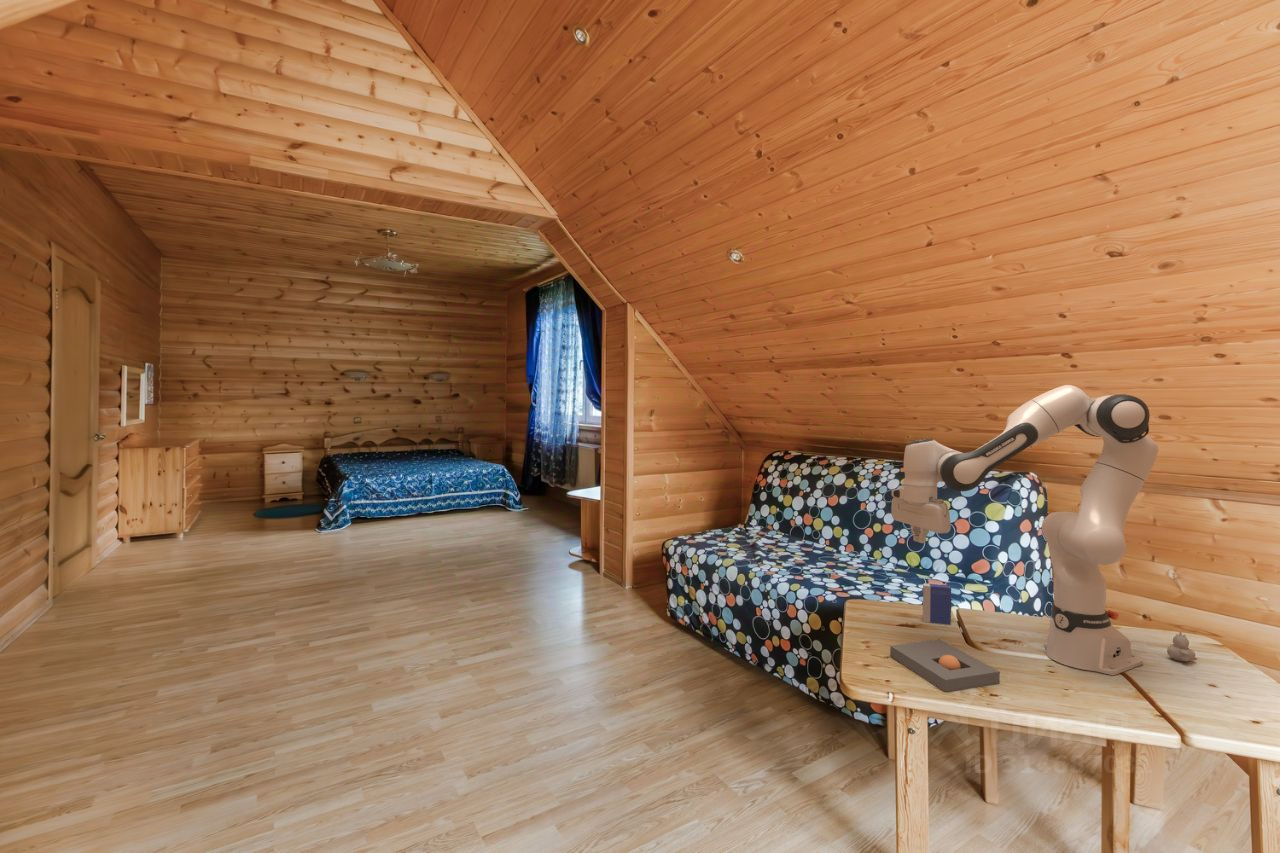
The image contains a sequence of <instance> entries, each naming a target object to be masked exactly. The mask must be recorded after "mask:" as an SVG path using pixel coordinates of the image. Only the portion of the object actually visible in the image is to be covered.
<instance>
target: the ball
mask: <svg viewBox="0 0 1280 853" xmlns="http://www.w3.org/2000/svg"><path fill="white" fill-rule="evenodd" d="M938 664H940V665H942V666H943V667H945V668H947V669H948V670H956V669H960V668H961V666H960V663H959V661H958V660H957V659H956V658H955V657H954V656H951V655H944V656H942V657H941V658H940V659H939V662H938Z"/></svg>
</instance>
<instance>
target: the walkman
mask: <svg viewBox="0 0 1280 853" xmlns="http://www.w3.org/2000/svg"><path fill="white" fill-rule="evenodd" d="M921 589H922V590H921V591H922V592H921V593H922V594H921V595H922V621H923V623H929V624H939V625H949V626H950V625H952V623H951V622H952V587H951V585H948V583H947V584H945V583H942V584H935V583H923V585H922V588H921Z"/></svg>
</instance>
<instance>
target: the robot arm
mask: <svg viewBox="0 0 1280 853" xmlns="http://www.w3.org/2000/svg"><path fill="white" fill-rule="evenodd" d="M1149 423H1150V409H1149V407H1148V405H1147V404H1146V402H1144V400H1142V399H1140V398H1139V397H1137V396H1133V395H1130V394H1126V393H1122V394H1121V393H1120V394H1119V393H1118V394H1108V395H1102V396H1098V397H1093V398H1092V397H1089V396H1088V395H1087V393H1086V392H1085V391H1084V390H1082V389H1081V388H1079V387H1077V386H1075V385H1071V384H1063V385H1061V386H1058V387H1055V388H1053V389H1050V390H1047V391H1046V392H1043V393H1042V394H1040V395H1037V396H1035V397H1033V398H1032V399H1030V400H1028V401H1026V402H1024V403H1023V404H1022V405H1020V406H1019V407H1017V408H1016V409H1015V410H1014V411H1012V412H1011V413H1010V414H1009V415H1008V417H1007V419H1006V426H1005V429H1004V430H1003V432H1001V433H1000V434H999V435H997V436H996V437H995V438H992V440H990V441H988V442H986V443H984V444H983V445H982V446H980V447H978V448H977V449H975V450H973V451H968V452H962V451H959V450H956V449H952V448H950V447H948V446H945V445H943V444H941V443H940V442H938V441H936V440H935V438H920V439H915V440H912V441H909V442H908V443H907V444H906V446H905V448H904V455H903V472H904V480H903V487H898V488H896V489H892V490H891V497H893V498H892V500H891V517H892V519H893V521H896V522H899V523H903V524H907V525H908V526H909V525H910V530H911V533H912V535H913V542H918V543H920V544H925V543H926V540H927V536H928V534H929V533H930V532H933V533H937V534H948V533H949V532H950V531H951V529H952V527H951V515H950V510H949V505H948V504H947V503H946V502H945V500H944V499H941V498H938V483H939V482H940V483H941V482H942V483H944V484H945V485H946V486H947V487H949V488H950V489H952V490H954V491H958V492H969V491H972V490H974V489H975V488H978V486H980V485H981V483H982V482H983V481H984V479H985V478H986V477H987V475H988V474H990V473H991V471H993V470H994V469H995V468H997V467H999V466H1001V465H1002V464H1004V463H1005V462H1006V461H1008V460H1010V459H1012V458H1014V457H1015V456H1017V454H1019V453H1021V452H1022V451H1025V450H1026V449H1028V448H1031V447H1033V446H1035V445H1037V444H1039V443H1043V442H1044V441H1046V440H1048V439H1050V438H1052V437H1054V436H1056V435H1058V434H1060V433H1061V432H1063V431H1065V430H1066V429H1067V428H1068V429H1069V428H1070V427H1072V426H1074V427H1076V428H1078V429H1079V430H1080V431H1082V432H1083V433H1085V434H1086V435H1089V436H1092V437H1096V438H1102V441H1103V442H1102V443H1103V446H1102V449H1101V450H1102V451H1101V453H1100V454H1099V456H1098V458H1097V459H1096V461H1095V462H1094V464H1093V465H1092V467H1091V469H1090V471H1089V473H1088V474H1087V476H1086V477H1085V479H1084V480H1083V483H1082V484H1081V485H1080V495H1081V496H1080V497H1081V498H1080V499H1081V500H1080V504H1079V508H1078V512H1075V511H1065V510H1064V511H1063V510H1062V511H1054V512H1051V513H1050V514H1048V515H1046V516H1045V518H1043V520H1042V524H1041V532H1042V535H1043V536H1044V538H1045V539H1046V544H1047V548H1048V552H1049V556H1050V561H1051V565H1052V572H1053V602H1052V603H1051V609H1050V610H1051V617H1052V618H1051V619H1050V620H1049V625H1048V634H1047V638H1046V639H1047V640H1046V641H1044V644H1043V646H1044V647H1045V651H1044V652H1045V655H1046V656H1047V657H1048V658H1050V659H1052V660H1053V661H1055V662H1057V663H1060V664H1062V665H1064V666H1068V667H1070V668H1071V667H1072V668H1075V669H1079V670H1084V671H1090V672H1097V673H1102V674H1106V675H1110V676H1116V675H1119V674H1121V673H1123V672H1126V671H1128V670H1130V669H1134V668H1137V667H1139V666H1142V665H1143V664H1144V662H1143V659H1141V657H1139V656H1138V655H1136V654H1134V653H1132V645H1131V641H1130V639H1129V638H1128V637H1127V636H1126V635H1124V634H1123V633H1122V632H1121V631H1119V630H1118V629H1117V628H1116V627H1114V626H1113V625H1112V623H1111V619H1112V620H1113V621H1117V620H1118V618H1119V616H1120V615H1119V614H1120V613H1118V612H1117V611H1112V610H1110V609H1109V610H1106V608H1107V607H1106V606H1107V605H1106V601H1107V583H1106V580H1105V577H1104V576H1103V574H1102V571H1101V569H1100V567H1099V565H1105V566H1108V565H1112V564H1115V563H1118V562H1120V560H1121V559H1123V557H1124V556H1125V554H1126V553H1127V552H1126V551H1127V542H1126V538H1125V535H1124V534H1125V526H1126V522H1127V518H1128V515H1129V511H1130V508H1131V506H1132V504H1133V503H1134V502H1135V499H1136V498H1137V496H1138V494H1139V493H1140V491H1141V489H1142V487H1143V486H1144V484H1145V482H1146V481H1147V479H1148V478H1149V476H1150V473H1151V472H1152V469H1153V466H1154V465H1155V462H1156V459H1157V455H1158V453H1159V446H1158V444H1157V442H1156V441H1155V440H1154V439H1152V438H1151V437H1150V436H1148V434H1149V432H1150V424H1149Z"/></svg>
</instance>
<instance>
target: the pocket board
mask: <svg viewBox="0 0 1280 853" xmlns="http://www.w3.org/2000/svg"><path fill="white" fill-rule="evenodd" d="M889 649H890V650H889V651H890V654H889V657H890V658H892V659H894V660H895V661H896V662H898V663H900V664H901V665H903V666H904V667H906V668H907V669H908V670H910V671H912V672H913V673H915V674H916V675H918V676H919V677H921V678H922V679H924V680H926V681H927V682H929V683H931V684H932V685H934V686H935V687H937V688H938V689H940V690H941V691H943V693H944V692H945V693H949V692H954V691H959V690H967V689H973V688H978V687H985V686H991V685H998V684H1000V681H1001V680H1000V677H1001V674H1000V671H999V670H998V669H995V668H994V667H992V666H991V665H989V664H986V663H985V662H983V661H981V660H978V659H977V658H976V657H974V656H971V655H970V654H968V653H966V652H964V651H962V650H960V649H959V648H957V647H955V646H953V645H952V644H949V643H947V642H945V641H944V640H942V639H940V638H938V639H931V640H924V641H915V642H907V643H902V644H901V643H900V644H895V645H894V644H893V645H890V648H889ZM944 655H951V656H954V657H955V658H956V659H957V660H958V661H959V663H960V666H961V668H960V669H956V670H948V669H947V668H945V667H943V666H942V665H940V664H938V662H939V659H940V658H941V657H942V656H944Z"/></svg>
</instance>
